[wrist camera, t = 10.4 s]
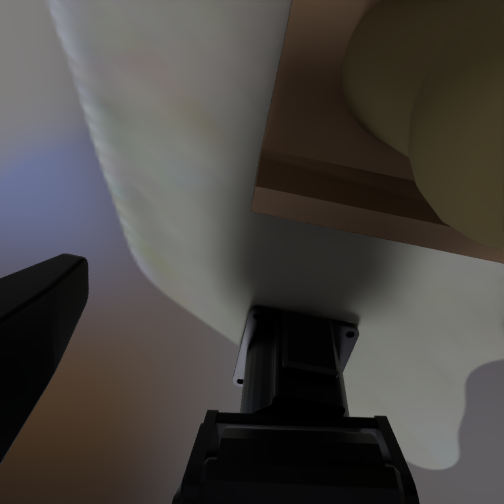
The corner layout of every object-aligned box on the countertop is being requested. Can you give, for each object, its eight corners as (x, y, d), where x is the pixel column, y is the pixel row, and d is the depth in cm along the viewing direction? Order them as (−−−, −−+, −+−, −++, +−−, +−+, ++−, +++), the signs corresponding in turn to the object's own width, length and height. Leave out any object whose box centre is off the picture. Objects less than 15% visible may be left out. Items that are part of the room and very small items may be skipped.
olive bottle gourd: (330, 139, 18) (380, 285, 9) (356, -27, 15) (475, -78, 6) (471, 150, 18) (675, 310, 9) (526, -16, 15) (938, -49, 6)
